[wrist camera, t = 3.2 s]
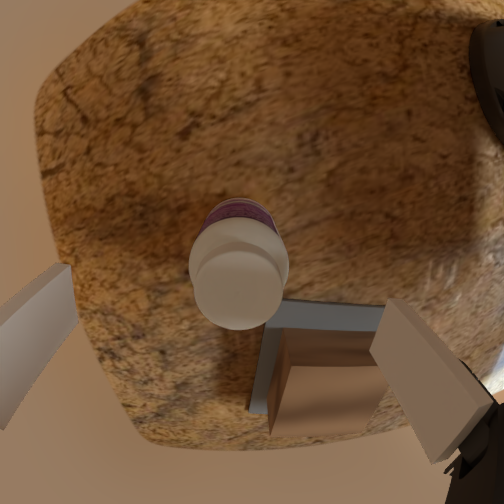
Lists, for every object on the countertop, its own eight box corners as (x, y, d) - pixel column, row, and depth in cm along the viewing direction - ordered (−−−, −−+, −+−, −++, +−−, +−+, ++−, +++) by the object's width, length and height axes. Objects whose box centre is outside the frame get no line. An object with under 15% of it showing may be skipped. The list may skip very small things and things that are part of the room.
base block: (283, 327, 24) (291, 365, 20) (377, 331, 25) (399, 364, 20) (266, 398, 27) (269, 437, 23) (348, 398, 28) (361, 432, 23)
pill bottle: (189, 223, 22) (152, 277, 13) (248, 182, 21) (253, 208, 12) (231, 279, 23) (225, 359, 14) (289, 242, 22) (319, 306, 13)
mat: (269, 297, 24) (270, 299, 23) (397, 306, 25) (399, 308, 24) (248, 410, 28) (248, 413, 28) (352, 409, 29) (353, 412, 29)
